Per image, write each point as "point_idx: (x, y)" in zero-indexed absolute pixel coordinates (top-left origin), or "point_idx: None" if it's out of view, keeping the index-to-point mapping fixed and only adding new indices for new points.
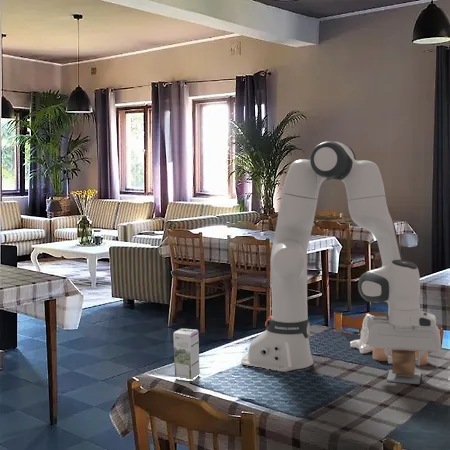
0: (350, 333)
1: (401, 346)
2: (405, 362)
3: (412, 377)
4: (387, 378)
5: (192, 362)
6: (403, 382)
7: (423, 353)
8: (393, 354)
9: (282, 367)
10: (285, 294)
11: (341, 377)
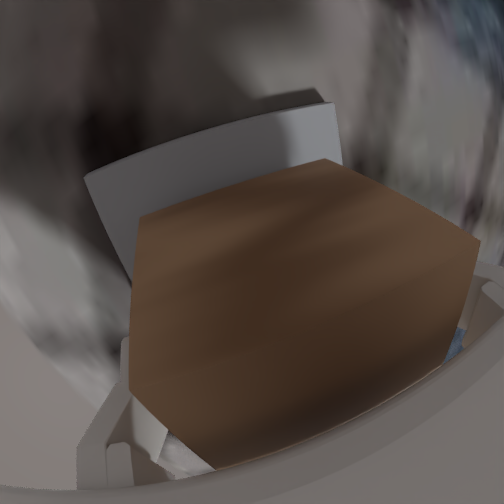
0: None
1: (434, 430)
2: (247, 244)
3: None
4: (334, 126)
5: None
6: (206, 131)
7: (79, 460)
8: (456, 239)
9: None
10: None
11: (492, 99)
